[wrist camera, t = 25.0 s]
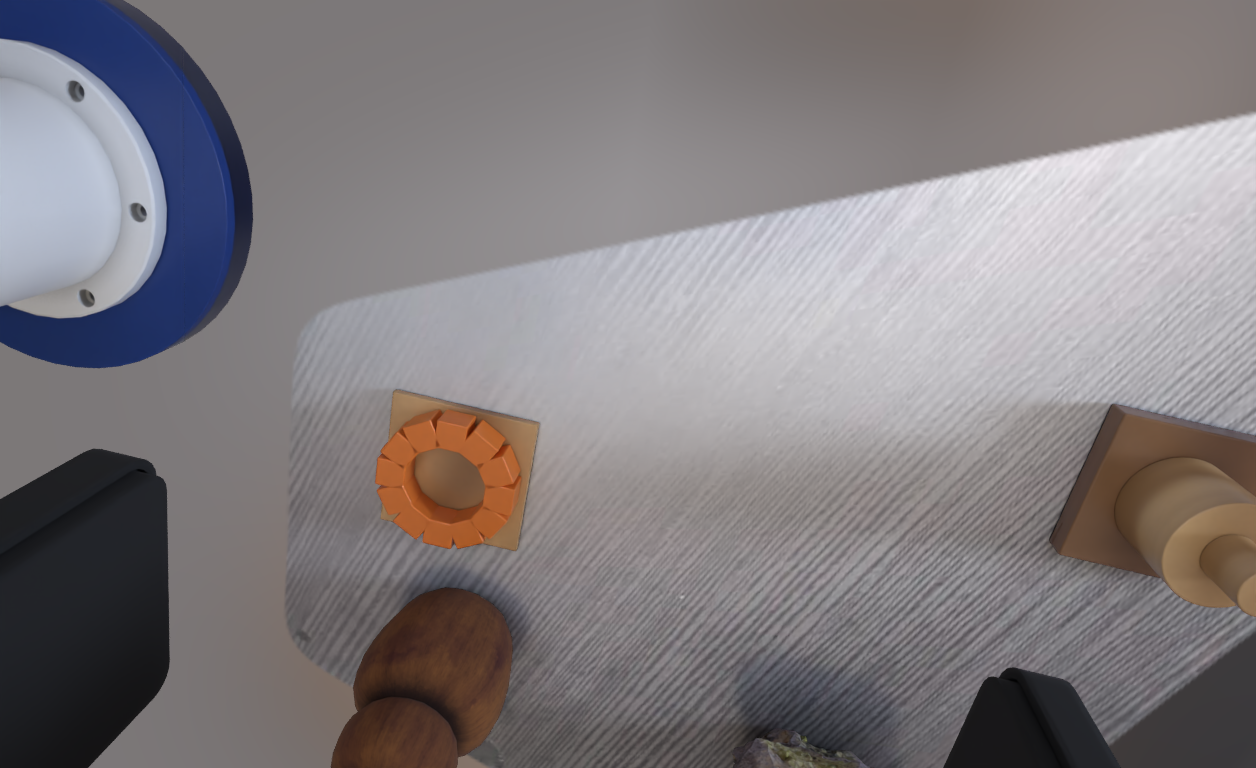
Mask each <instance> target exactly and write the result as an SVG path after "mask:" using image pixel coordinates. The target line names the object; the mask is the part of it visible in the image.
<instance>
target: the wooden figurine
mask: <svg viewBox="0 0 1256 768" xmlns="http://www.w3.org/2000/svg"><path fill="white" fill-rule="evenodd" d="M512 652H513V647H512V636H511V634H510V631H509V628H508V626H507V624H506V621H505V619H504V617H503V614H502V613H501V612H500V611H499V610H498V609H497V608H496V607H495V606H494V605H493V604H492V603H490V602H489V601H487V600H485V599H484V598H482V597H481V596H479V595H477V594H475V593H472V592H469V591H466V590H463V589H456V588H446V587H445V588H441V589H437V590H434V591H430V592H427V593H424V594H421V595H419V596H418V597H416V598H415V599H413V600H412V601H411V602H409V603H408V604H407V605H406V606H405V607H404V608H403V609H402V610H401V611H400V612H399V613H398V614H397V615H396V616H395V617H394V618H393V619H392V620H391V621H390V622H389V623H388V624H387V625H386V626H385V627H384V628H383V629H382V630H381V632H380V633H379V634H378V635H377V637H376V638H375V639H374V641H373V642H372V644H371V645H370V647H369V648H368V650H367V651H366V653H365V654H364V656H363V659H362V661H361V664H360V666H359V668H358V671H357V674H356V678H355V682H354V686H353V690H354V699H355V707H356V709H357V711H358V712H357V713H356V714H354V715H353V716H352V717H351V719H350V720H349V721H348V722H347V724H346V725H345V727H344V729H343V731H342V733H341V735H340V737H339V739H338V741H337V744H336V747H335V749H334V752H333V757H332V762H331V768H456V767H457V764H458V757H461V756H465V755H466V754H468V753H469V752H471V751H472V750H474V749H475V748H477V747H478V746H480V745H481V744H482V743H483V741H484V740H485V739H486V737H487V736H488V735H489V734H490V732H491V730H492V729H493V727H494V725H495V723H496V721H497V720H498V718H499V716H500V713H501V710H502V707H503V704H504V701H505V698H506V694H507V690H508V686H509V679H510V671H511V662H512Z"/></svg>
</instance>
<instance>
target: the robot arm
mask: <svg viewBox="0 0 1256 768" xmlns="http://www.w3.org/2000/svg"><path fill="white" fill-rule="evenodd" d="M166 220H167V205H166V198H165V191H164V184H163V179H162V176H161V173H160V170H159V167H158V164H157V161H156V157H155V154H154V152H153V150H152V148H151V146H150V144H149V142H148V140H147V138H146V136H145V134H144V132H143V130H142V128H141V127H140V125H139V124H138V123H137V121H136V120H135V118H134V117H133V115H132V114H131V113H130V111H129V110H128V108H127V107H126V105H125V104H124V103H123V102H122V101H121V100H120V99H119V98H118V96H117V95H116V94H115V93H114V92H113V91H112V90H111V89H110V88H109V87H108V86H107V85H106V84H105V83H104V82H103V81H102V80H101V79H99V78H98V77H97V76H95V75H94V74H93V73H91V72H90V71H89V70H88V69H86V68H85V67H84V66H82V65H81V64H80V63H78V62H76V61H74V60H72V59H70V58H69V57H67V56H65V55H63V54H61V53H59V52H57V51H56V50H53V49H50V48H47V47H43V46H40V45H37V44H34V43H31V42H25V41H17V40H8V39H0V307H1V306H4V305H9V306H10V307H12V308H15V309H18V310H21V311H24V312H28V313H31V314H34V315H38V316H45V317H52V318H74V317H83V316H86V315H90V314H93V313H97V312H100V311H103V310H106V309H108V308H110V307H113V306H115V305H117V304H120V303H122V302H123V301H125V300H126V299H127V298H129V297H130V296H131V295H133V294H134V293H136V292H137V291H138V290H139V289H140V288H141V286H142V285H143V284H144V283H145V282H146V280H147V279H148V278H149V277H150V275H151V274H152V272H153V270H154V268H155V266H156V264H157V262H158V260H159V257H160V255H161V252H162V248H163V243H164V239H165V235H166ZM167 534H168V532H167V489H166V483H165V482H164V480H163V479H162V478H161V477H159V476H156V471H155V468H154V467H153V465H152V463H150V462H149V461H147V460H145V459H140V458H136V457H132V456H128V455H124V454H119V453H115V452H111V451H107V450H103V449H91V450H89V451H86V452H84V453H82V454H80V455H78V456H77V457H75V458H73V459H71V460H69V461H68V462H66V463H64V464H62V465H60V466H59V467H57V468H55V469H53V470H51V471H50V472H48V473H46V474H44V475H43V476H41V477H39V478H37V479H36V480H34V481H32V482H30V483H28V484H27V485H25V486H23V487H21V488H19V489H18V490H16V491H14V492H12V493H10V494H9V495H7V496H5V497H3V498H2V499H0V768H88V767H89V766H90V765H91V764H92V763H93V762H94V761H95V760H96V759H97V758H98V757H99V755H100V754H101V753H102V752H103V751H104V750H105V749H106V748H107V747H108V746H109V745H110V744H111V743H112V742H113V741H114V740H115V739H116V738H117V736H118V735H119V734H120V733H121V732H122V731H123V730H124V729H125V728H126V727H127V726H128V725H129V724H130V723H131V722H132V721H133V719H134V718H135V717H136V716H137V715H138V714H139V713H140V712H141V711H142V710H143V709H144V708H145V707H146V706H147V705H148V704H149V702H150V701H151V700H152V699H153V698H154V697H155V696H156V695H157V693H158V692H159V690H160V689H161V687H162V685H163V683H164V681H165V679H166V676H167V673H168V669H169V662H170V661H169V660H170V657H169V594H168V536H167ZM943 768H1121V767H1120V765H1119V763H1118V762H1117V760H1116V758H1115V757H1114V755H1113V753H1112V752H1111V750H1110V748H1109V746H1108V745H1107V743H1106V741H1105V740H1104V738H1103V736H1102V735H1101V733H1100V731H1099V729H1098V728H1097V726H1096V724H1095V723H1094V721H1093V719H1092V718H1091V716H1090V714H1089V712H1088V711H1087V709H1086V707H1085V706H1084V704H1083V702H1082V701H1081V699H1080V697H1079V695H1078V694H1077V692H1076V690H1075V689H1074V688H1073V687H1072V685H1071V684H1070V683H1069V682H1067V681H1065V680H1063V679H1060V678H1056V677H1051V676H1047V675H1043V674H1039V673H1035V672H1031V671H1026V670H1022V669H1018V668H1007V669H1006V670H1005V671H1004V672H1002V674H1001V675H1000V677H999V678H997V677H988V678H987V679H986V680H985V681H984V682H983V684H982V686H981V687H980V690H979V692H978V694H977V696H976V698H975V700H974V702H973V705H972V707H971V709H970V711H969V713H968V715H967V718H966V720H965V722H964V724H963V726H962V728H961V731H960V733H959V735H958V737H957V739H956V741H955V744H954V746H953V748H952V750H951V752H950V754H949V757H948V759H947V761H946V763H945V765H944V767H943Z"/></svg>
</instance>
